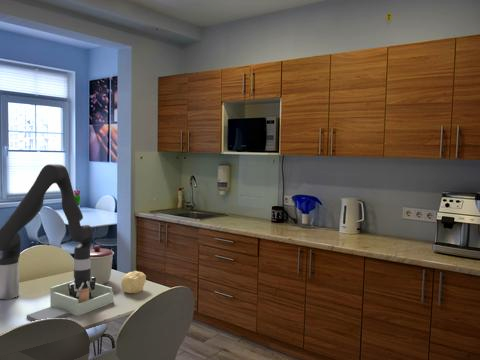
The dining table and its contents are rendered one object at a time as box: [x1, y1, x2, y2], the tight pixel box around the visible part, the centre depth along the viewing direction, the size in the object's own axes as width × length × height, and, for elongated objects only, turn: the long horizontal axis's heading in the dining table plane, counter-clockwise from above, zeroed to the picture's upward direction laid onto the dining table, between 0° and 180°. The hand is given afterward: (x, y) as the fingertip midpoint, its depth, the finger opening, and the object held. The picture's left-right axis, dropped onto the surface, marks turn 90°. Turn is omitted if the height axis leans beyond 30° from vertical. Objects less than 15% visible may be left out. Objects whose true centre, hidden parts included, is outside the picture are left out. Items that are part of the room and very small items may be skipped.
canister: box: [90, 244, 115, 285], centre depth 223 cm, size 18×18×21 cm
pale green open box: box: [49, 280, 114, 317], centre depth 192 cm, size 20×20×9 cm
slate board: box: [26, 306, 69, 322], centre depth 177 cm, size 12×12×2 cm
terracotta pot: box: [76, 287, 90, 303], centre depth 192 cm, size 6×6×8 cm
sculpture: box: [121, 270, 147, 294], centre depth 210 cm, size 12×12×11 cm
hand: (82, 301), depth 192 cm, fingers closed on terracotta pot, 6 cm apart
